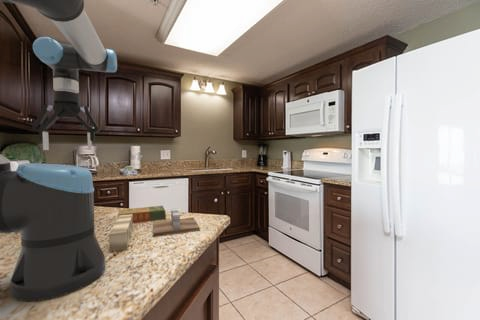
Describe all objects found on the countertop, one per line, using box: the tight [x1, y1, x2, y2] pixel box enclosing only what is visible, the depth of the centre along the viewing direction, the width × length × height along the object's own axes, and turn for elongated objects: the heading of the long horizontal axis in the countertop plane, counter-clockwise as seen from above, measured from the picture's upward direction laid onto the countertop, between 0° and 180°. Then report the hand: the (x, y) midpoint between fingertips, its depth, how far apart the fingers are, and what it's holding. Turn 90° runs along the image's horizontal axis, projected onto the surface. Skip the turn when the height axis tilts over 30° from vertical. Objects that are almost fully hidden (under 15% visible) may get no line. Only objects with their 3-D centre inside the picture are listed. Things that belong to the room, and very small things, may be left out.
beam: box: [108, 214, 134, 253], centre depth 68 cm, size 18×4×5 cm, turn 21°
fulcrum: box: [152, 207, 201, 237], centre depth 77 cm, size 12×14×5 cm
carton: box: [117, 205, 167, 224], centre depth 87 cm, size 8×16×4 cm, turn 116°
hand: (68, 149), depth 85 cm, fingers open, 13 cm apart
